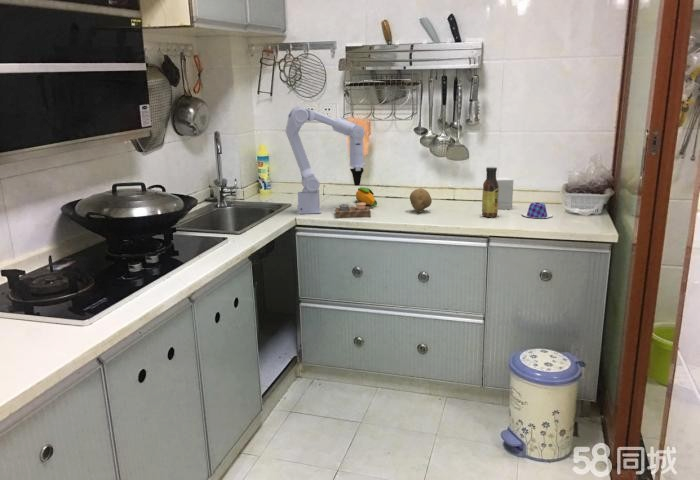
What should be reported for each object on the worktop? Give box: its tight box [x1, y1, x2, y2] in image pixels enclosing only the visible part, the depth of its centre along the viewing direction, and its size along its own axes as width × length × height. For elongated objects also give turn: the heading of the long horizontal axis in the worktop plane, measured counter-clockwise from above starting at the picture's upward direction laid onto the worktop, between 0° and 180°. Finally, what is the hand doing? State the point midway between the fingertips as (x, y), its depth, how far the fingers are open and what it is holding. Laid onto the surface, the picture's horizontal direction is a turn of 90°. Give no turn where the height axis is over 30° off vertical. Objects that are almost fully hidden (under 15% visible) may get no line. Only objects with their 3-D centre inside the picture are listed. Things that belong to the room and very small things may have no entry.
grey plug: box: [339, 203, 350, 211], centre depth 244 cm, size 4×4×4 cm
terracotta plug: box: [355, 201, 367, 210], centre depth 245 cm, size 4×4×4 cm
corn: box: [355, 186, 378, 207], centre depth 264 cm, size 7×8×20 cm
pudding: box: [521, 202, 553, 219], centre depth 238 cm, size 12×12×5 cm
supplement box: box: [496, 176, 514, 210], centre depth 253 cm, size 7×7×13 cm
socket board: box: [334, 206, 372, 219], centre depth 245 cm, size 14×9×2 cm, turn 94°
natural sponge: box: [409, 187, 433, 213], centre depth 248 cm, size 9×9×10 cm
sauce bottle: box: [481, 166, 499, 218], centre depth 237 cm, size 6×6×20 cm
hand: (357, 185), depth 254 cm, fingers closed
